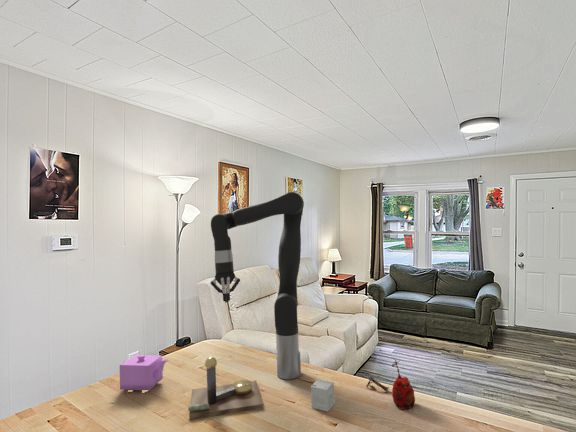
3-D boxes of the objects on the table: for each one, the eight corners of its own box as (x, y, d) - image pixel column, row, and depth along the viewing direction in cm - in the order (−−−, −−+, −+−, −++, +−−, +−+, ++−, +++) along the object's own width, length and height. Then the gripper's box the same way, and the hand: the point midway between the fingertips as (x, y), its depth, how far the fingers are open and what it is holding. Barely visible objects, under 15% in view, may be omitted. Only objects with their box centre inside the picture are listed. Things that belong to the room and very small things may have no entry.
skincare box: (335, 403, 119) (334, 382, 119) (327, 412, 113) (326, 389, 113) (318, 399, 122) (318, 378, 122) (311, 408, 116) (310, 385, 117)
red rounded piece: (406, 413, 111) (404, 366, 112) (387, 405, 117) (386, 360, 117) (419, 404, 116) (417, 359, 116) (400, 397, 121) (398, 354, 122)
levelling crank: (245, 384, 131) (244, 343, 132) (255, 391, 126) (254, 348, 126) (202, 400, 120) (201, 356, 121) (211, 408, 115) (210, 361, 115)
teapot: (114, 393, 131) (113, 360, 132) (129, 381, 141) (129, 350, 142) (163, 395, 129) (162, 361, 129) (175, 382, 139) (175, 351, 139)
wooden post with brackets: (364, 384, 130) (369, 373, 130) (384, 396, 127) (389, 386, 126) (363, 386, 129) (367, 375, 128) (383, 399, 125) (388, 388, 124)
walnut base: (256, 384, 135) (255, 376, 135) (263, 408, 117) (262, 398, 117) (191, 393, 129) (190, 384, 129) (188, 419, 112) (187, 409, 112)
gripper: (207, 263, 142) (210, 305, 141) (240, 260, 144) (243, 301, 144) (208, 261, 149) (210, 302, 148) (239, 258, 152) (241, 298, 151)
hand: (226, 302), depth 146 cm, fingers closed
